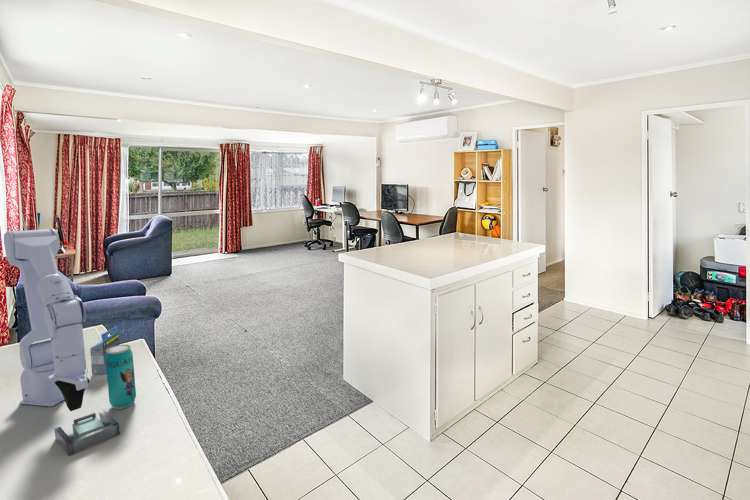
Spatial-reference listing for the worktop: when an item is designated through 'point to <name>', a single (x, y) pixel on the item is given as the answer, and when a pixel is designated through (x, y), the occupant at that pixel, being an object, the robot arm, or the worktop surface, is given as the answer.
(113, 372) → the beverage can
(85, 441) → the bay
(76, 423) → the mint cube with handle
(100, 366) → the label tape box
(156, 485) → the worktop surface
